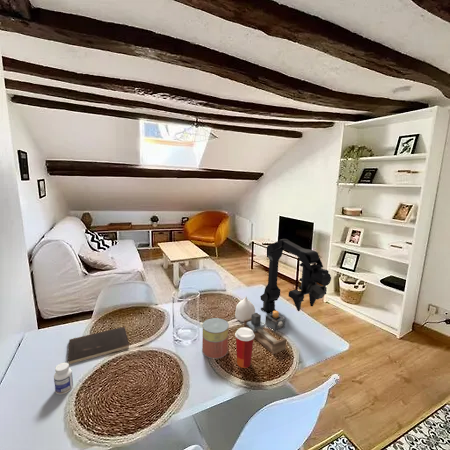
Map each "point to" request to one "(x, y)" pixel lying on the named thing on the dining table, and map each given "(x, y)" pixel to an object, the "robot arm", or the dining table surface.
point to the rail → (265, 343)
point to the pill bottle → (63, 378)
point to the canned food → (215, 338)
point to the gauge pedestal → (275, 322)
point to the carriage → (255, 322)
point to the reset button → (275, 314)
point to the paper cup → (244, 346)
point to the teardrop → (244, 310)
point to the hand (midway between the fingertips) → (305, 308)
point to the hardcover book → (97, 344)
